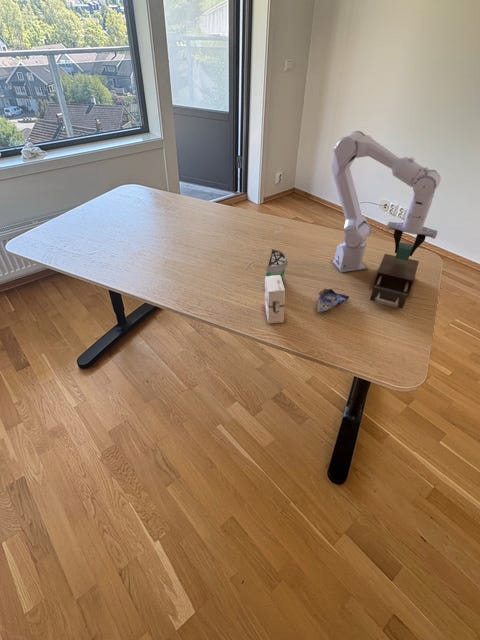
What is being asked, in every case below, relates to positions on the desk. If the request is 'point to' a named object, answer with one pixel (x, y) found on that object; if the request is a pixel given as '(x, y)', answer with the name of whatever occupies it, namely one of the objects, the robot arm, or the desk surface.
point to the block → (404, 251)
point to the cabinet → (398, 269)
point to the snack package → (329, 300)
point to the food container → (277, 263)
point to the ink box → (274, 299)
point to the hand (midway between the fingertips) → (403, 253)
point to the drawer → (390, 291)
